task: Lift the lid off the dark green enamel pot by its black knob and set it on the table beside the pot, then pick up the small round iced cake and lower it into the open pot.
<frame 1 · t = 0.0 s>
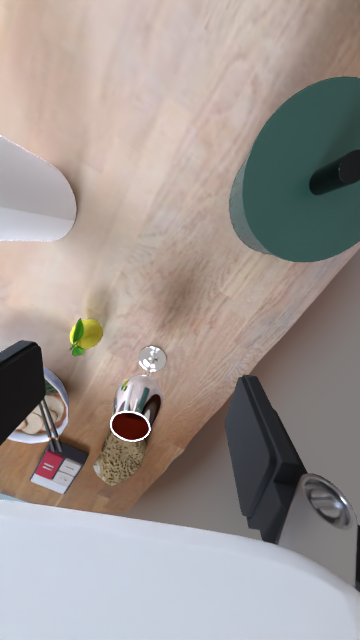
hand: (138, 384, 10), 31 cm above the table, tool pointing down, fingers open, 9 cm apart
calculator: (63, 459, 60), on the table
sponge: (124, 440, 56), on the table
pot: (279, 201, 33), on the table
lemon: (95, 325, 43), on the table
lid: (317, 183, 23), point 11 cm above the table, touching pot
ramen bowl: (40, 382, 50), on the table
wineglass: (152, 358, 46), on the table
can: (44, 203, 35), on the table
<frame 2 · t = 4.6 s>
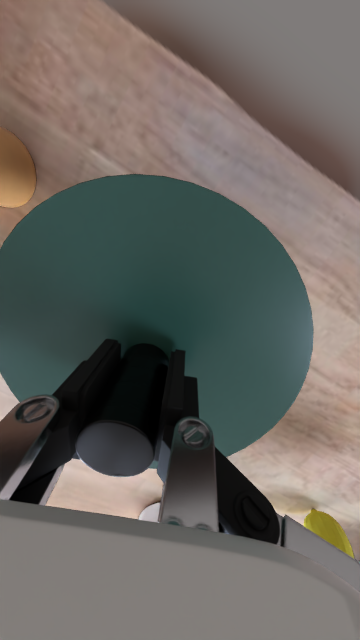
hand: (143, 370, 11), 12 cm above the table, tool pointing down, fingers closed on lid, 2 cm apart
lemon: (310, 507, 33), on the table
lid: (148, 357, 12), point 11 cm above the table, touching gripper, pot
cake: (2, 169, 18), on the table
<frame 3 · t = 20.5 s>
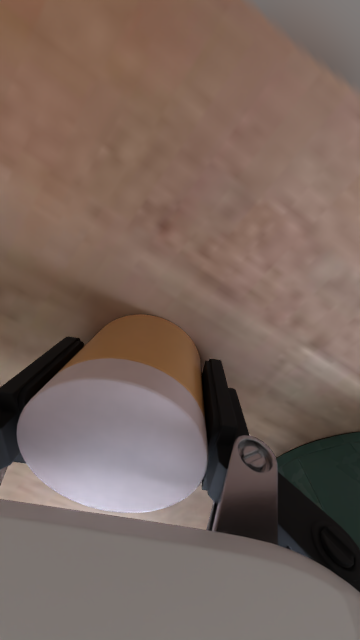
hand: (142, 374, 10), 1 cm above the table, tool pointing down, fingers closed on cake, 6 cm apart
pot: (349, 513, 15), on the table
cake: (145, 365, 11), on the table, touching gripper
when the fingers open (5 cm above the table, at t = 31.3 s): cake stays where it is, resting on pot.
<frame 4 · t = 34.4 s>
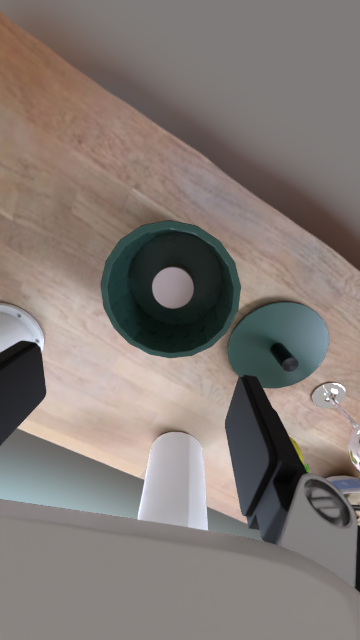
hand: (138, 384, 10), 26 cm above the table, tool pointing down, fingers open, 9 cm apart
pot: (175, 281, 34), on the table
lemon: (278, 435, 46), on the table
lid: (276, 347, 37), point 1 cm above the table
ramen bowl: (329, 484, 51), on the table
cake: (175, 282, 33), point 1 cm above the table, touching pot
wineglass: (327, 394, 41), on the table
can: (177, 448, 49), on the table
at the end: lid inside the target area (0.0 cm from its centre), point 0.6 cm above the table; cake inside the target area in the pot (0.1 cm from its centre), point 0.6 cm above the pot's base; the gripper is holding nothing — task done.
